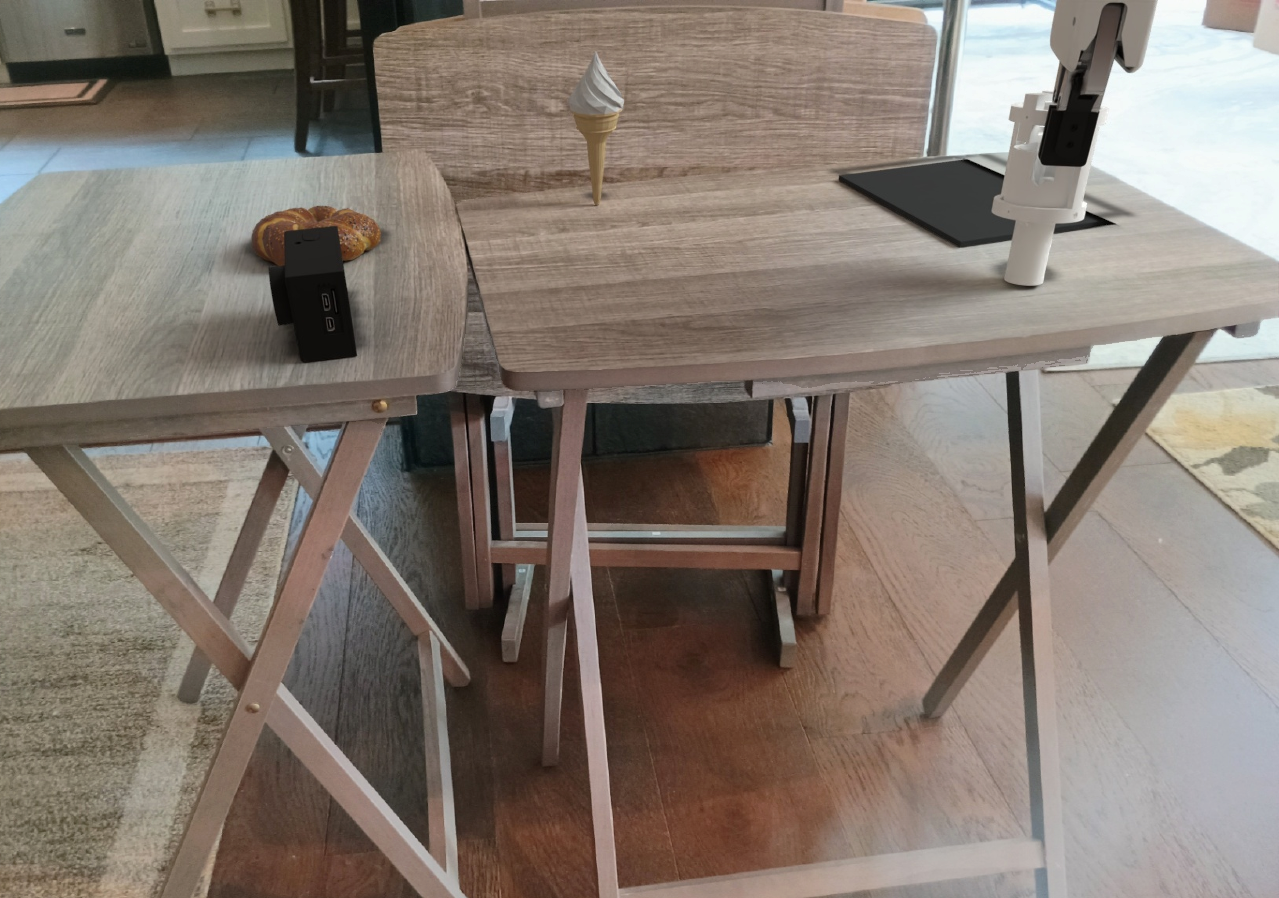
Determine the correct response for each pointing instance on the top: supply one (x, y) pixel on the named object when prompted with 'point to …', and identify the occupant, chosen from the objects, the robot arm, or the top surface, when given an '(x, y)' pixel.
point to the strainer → (1038, 191)
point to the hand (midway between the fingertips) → (1061, 162)
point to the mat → (949, 200)
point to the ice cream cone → (596, 116)
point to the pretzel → (352, 227)
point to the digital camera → (314, 294)
